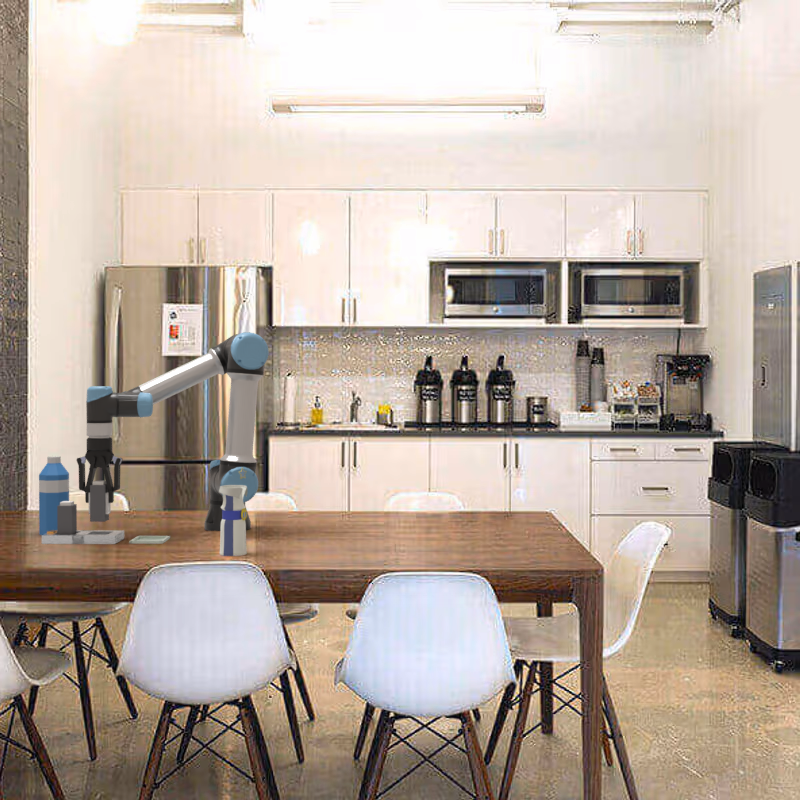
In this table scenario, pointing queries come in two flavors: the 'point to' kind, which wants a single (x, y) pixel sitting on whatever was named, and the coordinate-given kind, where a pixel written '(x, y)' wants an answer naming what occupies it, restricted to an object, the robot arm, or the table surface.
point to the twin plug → (67, 518)
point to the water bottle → (52, 493)
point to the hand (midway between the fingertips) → (99, 513)
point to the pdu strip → (84, 537)
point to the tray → (149, 540)
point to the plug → (98, 502)
